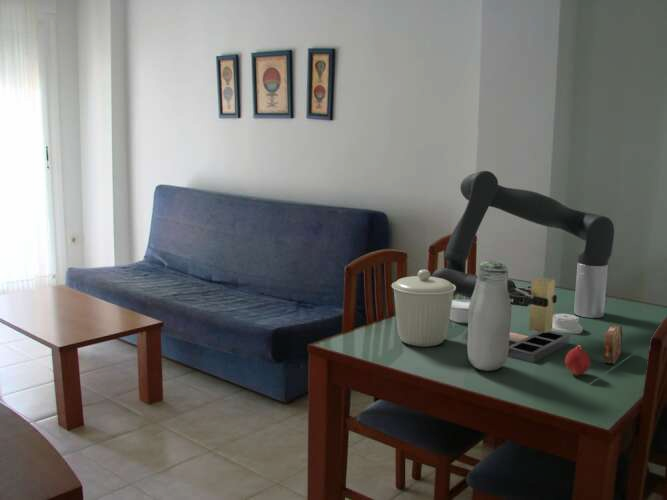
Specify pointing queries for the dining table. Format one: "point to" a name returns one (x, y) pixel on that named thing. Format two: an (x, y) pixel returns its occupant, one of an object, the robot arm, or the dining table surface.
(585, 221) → the robot arm
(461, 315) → the ramekin
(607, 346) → the tin
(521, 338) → the tile
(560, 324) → the mechanical component
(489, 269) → the glass bottle
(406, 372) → the dining table surface
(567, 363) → the pomegranate
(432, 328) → the canister
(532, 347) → the compartment tray
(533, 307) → the brass block
